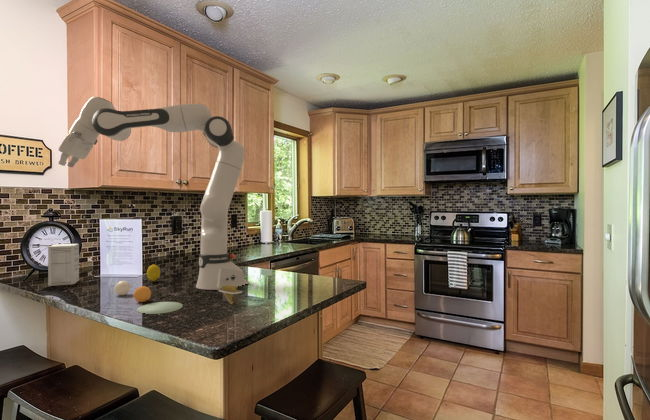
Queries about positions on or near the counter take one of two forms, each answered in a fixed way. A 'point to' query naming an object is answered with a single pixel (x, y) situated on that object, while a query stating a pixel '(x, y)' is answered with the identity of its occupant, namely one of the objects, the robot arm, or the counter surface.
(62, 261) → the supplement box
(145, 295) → the object ball
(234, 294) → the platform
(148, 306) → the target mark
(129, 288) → the cue ball
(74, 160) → the robot arm
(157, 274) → the lemon
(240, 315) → the counter surface
